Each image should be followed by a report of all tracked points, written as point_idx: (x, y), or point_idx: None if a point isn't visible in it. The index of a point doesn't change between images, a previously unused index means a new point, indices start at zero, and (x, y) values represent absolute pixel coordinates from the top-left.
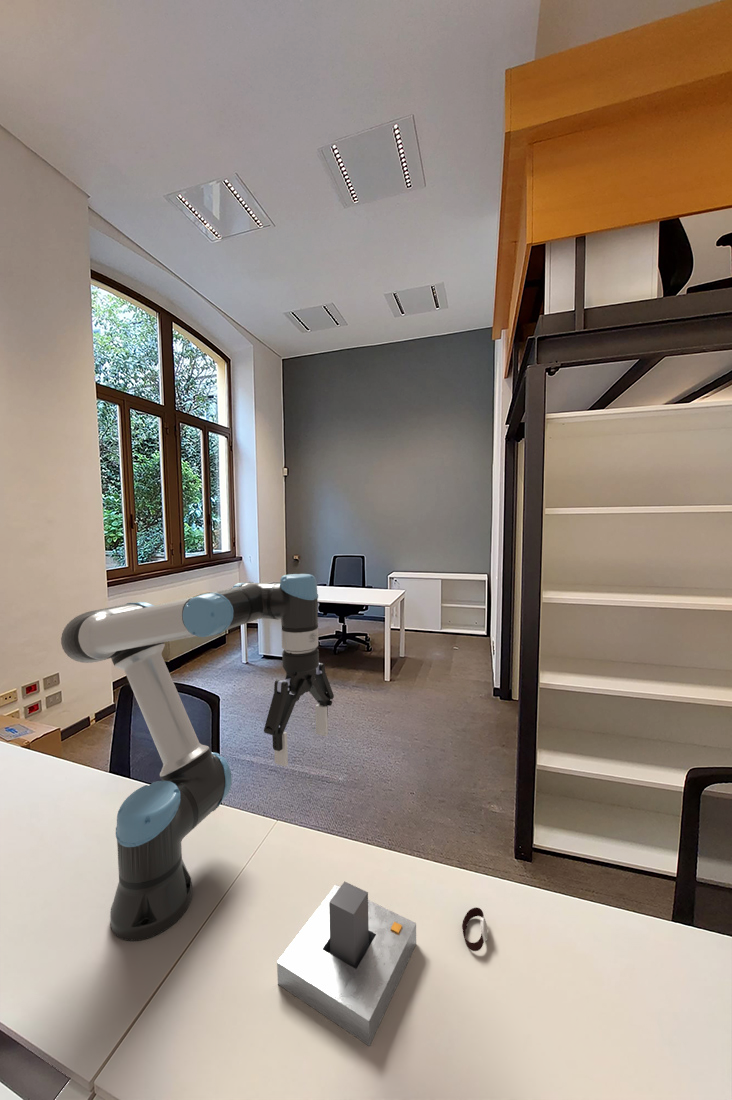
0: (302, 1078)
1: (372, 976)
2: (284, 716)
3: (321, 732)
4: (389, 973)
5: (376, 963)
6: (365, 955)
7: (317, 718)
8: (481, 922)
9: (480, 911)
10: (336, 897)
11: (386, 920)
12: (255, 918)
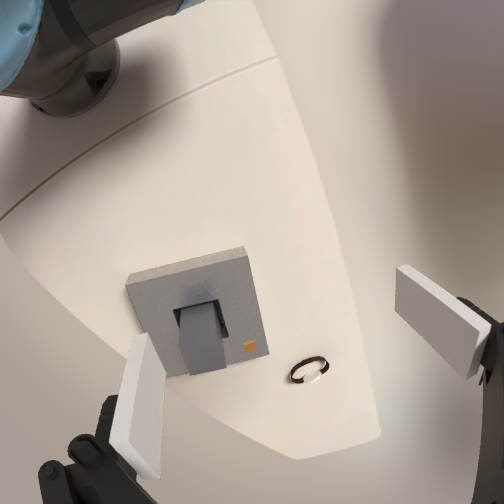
0: (113, 342)
1: None
2: None
3: (401, 298)
4: None
5: None
6: None
7: (436, 307)
8: (312, 381)
9: (327, 366)
10: (190, 348)
11: (250, 333)
12: (152, 183)
